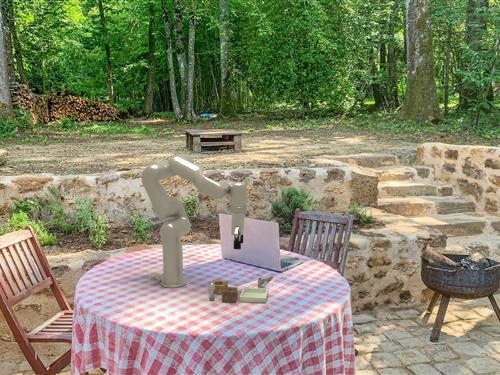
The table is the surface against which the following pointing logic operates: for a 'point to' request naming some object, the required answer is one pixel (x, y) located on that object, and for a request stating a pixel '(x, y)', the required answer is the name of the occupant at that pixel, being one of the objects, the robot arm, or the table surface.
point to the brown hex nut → (220, 286)
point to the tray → (254, 295)
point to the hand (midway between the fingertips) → (238, 246)
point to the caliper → (263, 281)
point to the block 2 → (229, 294)
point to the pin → (211, 291)
